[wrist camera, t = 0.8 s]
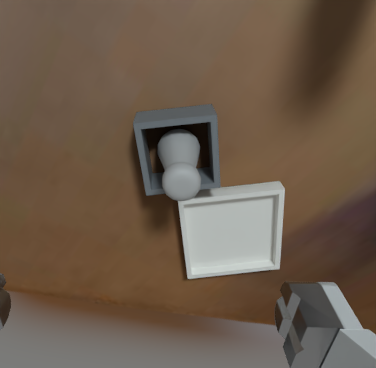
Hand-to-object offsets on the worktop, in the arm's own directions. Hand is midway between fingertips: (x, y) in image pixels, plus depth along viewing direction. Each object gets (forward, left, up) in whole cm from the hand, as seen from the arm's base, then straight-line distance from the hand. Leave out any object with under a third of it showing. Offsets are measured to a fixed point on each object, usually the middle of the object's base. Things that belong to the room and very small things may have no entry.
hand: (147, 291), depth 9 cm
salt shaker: (+1, -9, -36) cm, 37 cm away
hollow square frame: (+1, -9, -35) cm, 36 cm away
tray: (+8, -25, -35) cm, 44 cm away
